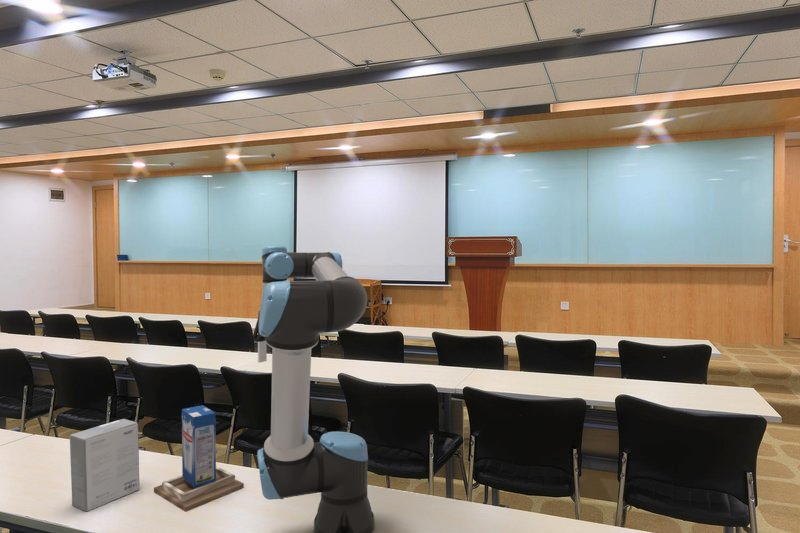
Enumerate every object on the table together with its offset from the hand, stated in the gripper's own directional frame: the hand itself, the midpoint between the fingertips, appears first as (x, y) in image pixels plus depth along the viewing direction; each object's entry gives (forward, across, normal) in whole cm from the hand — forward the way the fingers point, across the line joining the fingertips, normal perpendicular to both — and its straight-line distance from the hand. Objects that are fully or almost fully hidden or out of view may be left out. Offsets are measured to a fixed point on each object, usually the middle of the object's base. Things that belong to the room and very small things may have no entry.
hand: (275, 364), depth 157 cm
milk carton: (+32, +10, +20) cm, 39 cm away
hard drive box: (+35, +26, +39) cm, 58 cm away
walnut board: (+35, +10, +20) cm, 41 cm away
